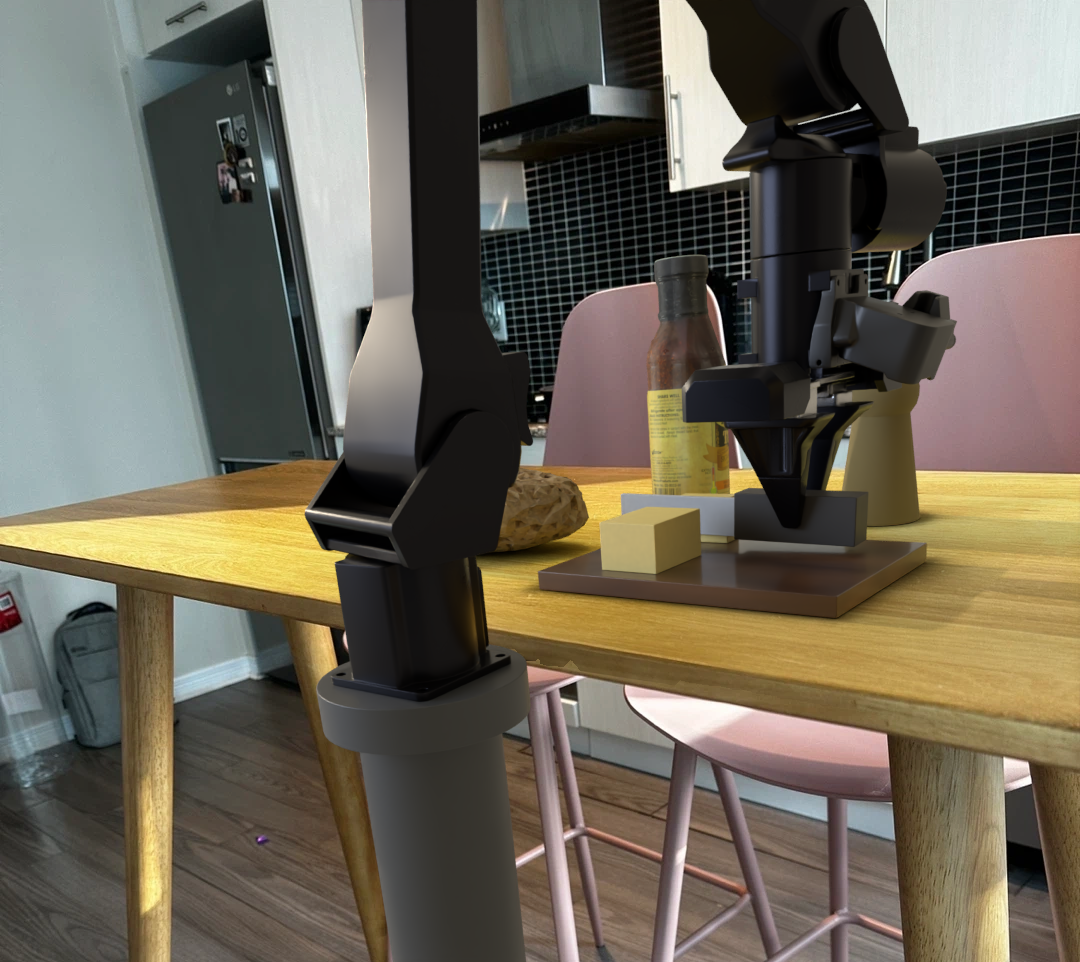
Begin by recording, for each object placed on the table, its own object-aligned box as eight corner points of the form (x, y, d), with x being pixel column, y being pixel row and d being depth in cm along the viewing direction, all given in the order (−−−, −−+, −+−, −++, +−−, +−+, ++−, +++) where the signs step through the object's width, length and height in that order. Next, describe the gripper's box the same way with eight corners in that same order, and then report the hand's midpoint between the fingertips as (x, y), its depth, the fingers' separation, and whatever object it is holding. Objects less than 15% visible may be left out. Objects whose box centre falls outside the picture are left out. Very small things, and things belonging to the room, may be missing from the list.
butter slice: (727, 543, 69) (726, 498, 68) (674, 541, 71) (672, 497, 70) (739, 538, 70) (738, 493, 69) (686, 536, 72) (685, 493, 71)
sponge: (338, 567, 85) (456, 541, 68) (332, 470, 84) (450, 421, 68) (475, 566, 92) (612, 543, 76) (470, 478, 91) (608, 435, 75)
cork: (933, 513, 78) (941, 361, 75) (898, 528, 74) (904, 368, 71) (859, 509, 82) (863, 365, 79) (822, 523, 78) (824, 372, 75)
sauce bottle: (736, 525, 81) (731, 249, 74) (657, 531, 81) (644, 257, 74) (723, 511, 87) (717, 255, 80) (649, 518, 87) (637, 263, 80)
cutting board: (836, 618, 54) (837, 596, 54) (538, 589, 66) (537, 571, 66) (926, 561, 64) (927, 542, 64) (654, 545, 76) (653, 529, 76)
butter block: (656, 574, 62) (654, 524, 61) (601, 570, 64) (598, 522, 63) (701, 555, 66) (700, 508, 65) (648, 551, 68) (646, 506, 67)
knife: (854, 547, 62) (856, 497, 61) (615, 532, 72) (613, 488, 71) (866, 540, 64) (869, 491, 63) (631, 526, 74) (629, 483, 72)
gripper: (876, 236, 48) (868, 564, 54) (992, 239, 62) (976, 501, 67) (671, 263, 55) (682, 552, 60) (816, 261, 68) (815, 497, 74)
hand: (799, 524), depth 65 cm, fingers closed on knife, 2 cm apart
